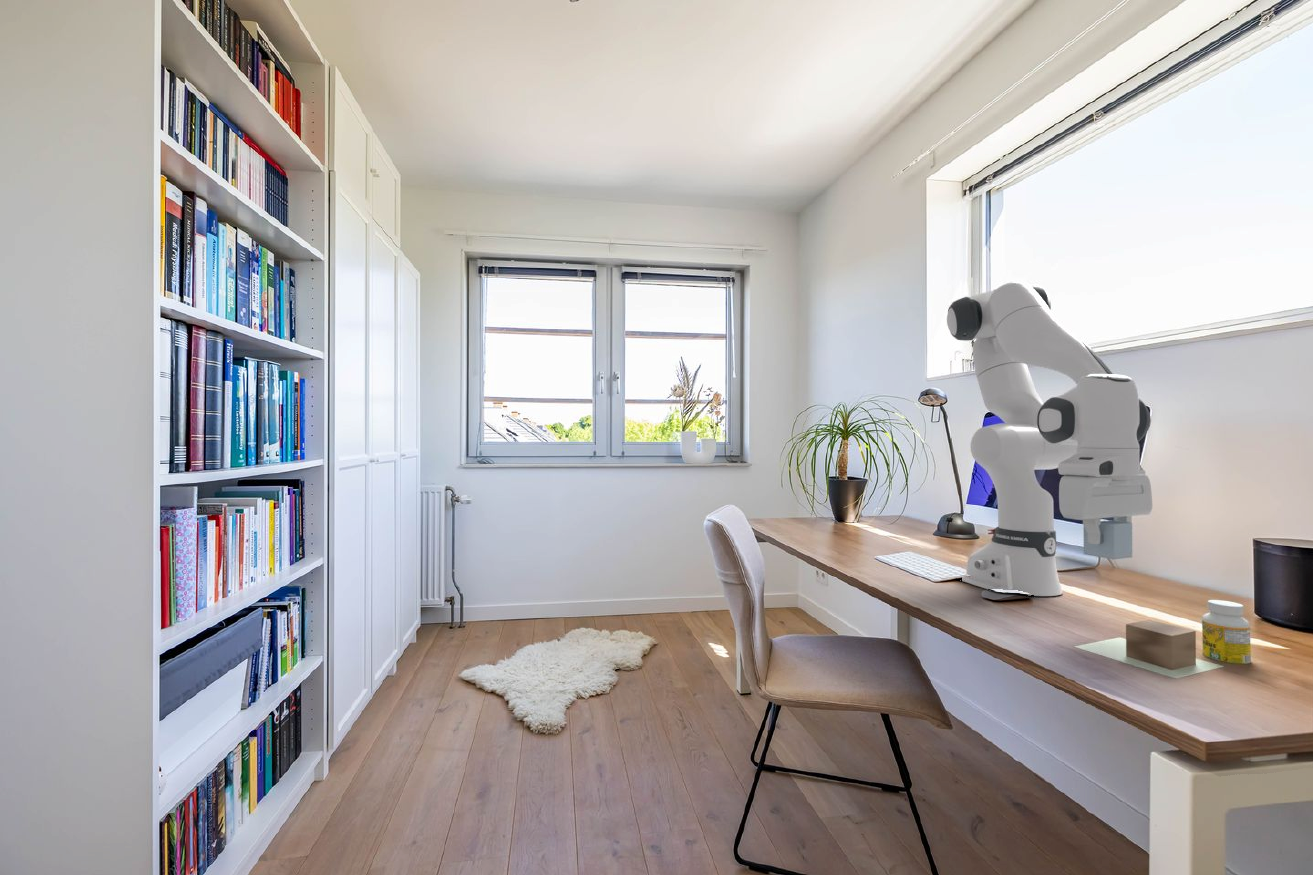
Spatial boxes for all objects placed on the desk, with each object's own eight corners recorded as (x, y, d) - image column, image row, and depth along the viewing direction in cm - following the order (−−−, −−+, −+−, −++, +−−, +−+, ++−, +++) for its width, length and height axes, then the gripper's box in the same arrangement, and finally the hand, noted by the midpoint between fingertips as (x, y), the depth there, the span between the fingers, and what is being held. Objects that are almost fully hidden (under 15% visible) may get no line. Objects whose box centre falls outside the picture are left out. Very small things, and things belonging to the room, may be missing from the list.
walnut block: (1126, 656, 91) (1125, 624, 91) (1149, 651, 94) (1149, 619, 94) (1171, 670, 86) (1171, 635, 86) (1195, 664, 88) (1195, 630, 88)
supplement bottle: (1258, 673, 88) (1258, 609, 88) (1212, 668, 90) (1212, 605, 90) (1238, 661, 93) (1238, 600, 93) (1195, 656, 95) (1195, 597, 95)
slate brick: (1083, 554, 105) (1083, 520, 105) (1101, 552, 107) (1101, 519, 107) (1114, 559, 101) (1114, 524, 101) (1132, 557, 103) (1132, 522, 103)
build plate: (1073, 653, 96) (1073, 646, 96) (1120, 644, 100) (1120, 637, 100) (1176, 686, 83) (1176, 678, 83) (1224, 674, 87) (1224, 666, 87)
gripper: (1124, 462, 111) (1124, 536, 111) (1051, 464, 103) (1051, 543, 103) (1163, 464, 105) (1163, 541, 105) (1089, 466, 97) (1089, 549, 97)
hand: (1107, 542), depth 104 cm, fingers closed on slate brick, 5 cm apart
